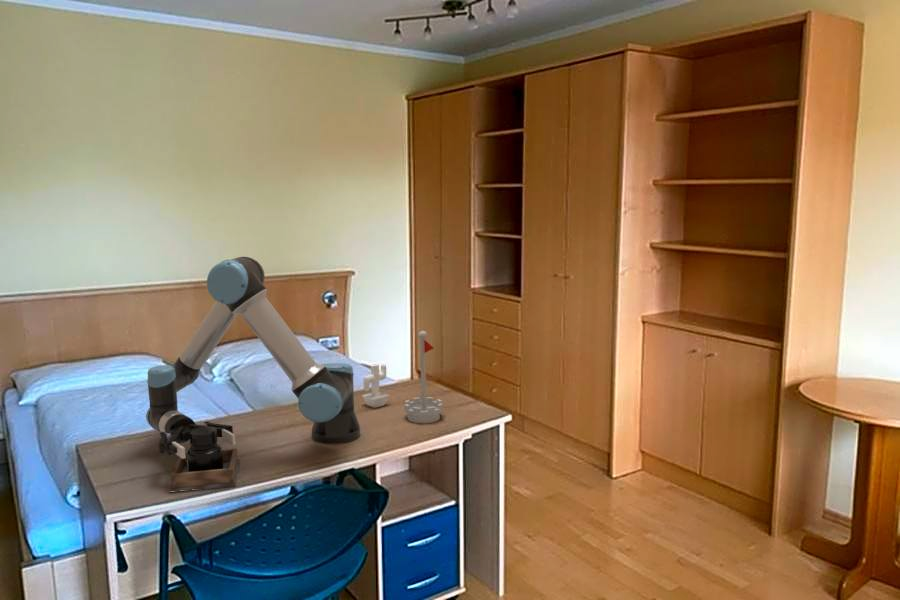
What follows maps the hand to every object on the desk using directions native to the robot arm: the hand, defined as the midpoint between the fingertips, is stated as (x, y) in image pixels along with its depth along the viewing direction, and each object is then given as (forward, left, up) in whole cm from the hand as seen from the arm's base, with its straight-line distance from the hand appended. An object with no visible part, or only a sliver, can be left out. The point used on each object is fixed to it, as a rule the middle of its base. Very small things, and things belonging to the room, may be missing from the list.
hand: (209, 446), depth 175 cm
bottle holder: (+2, -3, -9) cm, 10 cm away
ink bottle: (+2, -3, -9) cm, 9 cm away
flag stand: (-64, -36, -10) cm, 74 cm away
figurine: (-50, -54, -10) cm, 74 cm away
